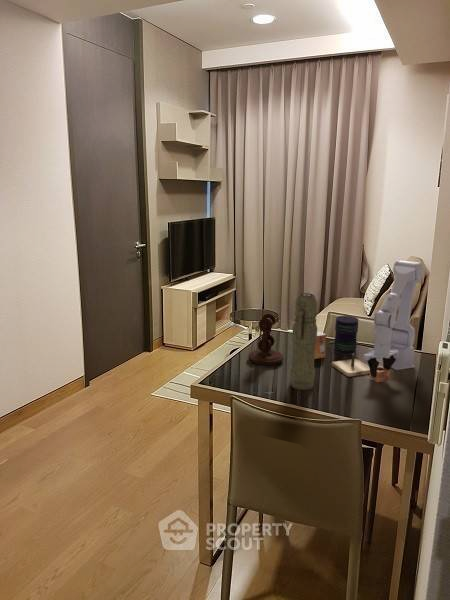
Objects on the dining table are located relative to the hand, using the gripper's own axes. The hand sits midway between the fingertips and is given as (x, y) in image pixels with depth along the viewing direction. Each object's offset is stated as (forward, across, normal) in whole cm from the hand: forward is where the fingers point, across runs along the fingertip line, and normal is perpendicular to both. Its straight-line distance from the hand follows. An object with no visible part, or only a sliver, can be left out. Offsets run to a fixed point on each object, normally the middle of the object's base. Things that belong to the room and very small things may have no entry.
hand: (379, 375), depth 179 cm
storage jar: (+3, +6, +32) cm, 33 cm away
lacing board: (+2, -3, +13) cm, 14 cm away
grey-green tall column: (+2, -30, +6) cm, 31 cm away
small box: (+3, -11, +30) cm, 32 cm away
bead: (+1, 0, 0) cm, 1 cm away
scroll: (+2, -33, +32) cm, 46 cm away
